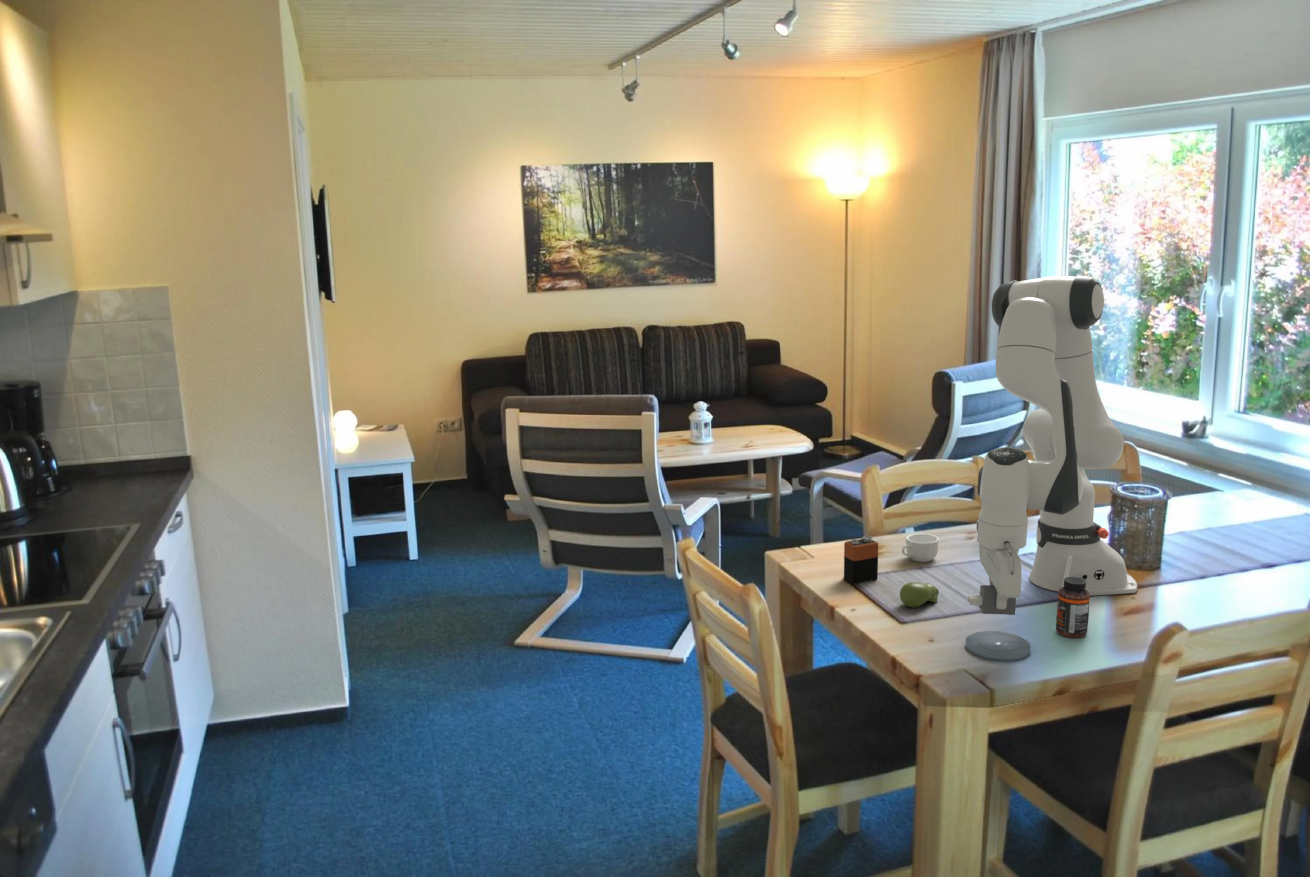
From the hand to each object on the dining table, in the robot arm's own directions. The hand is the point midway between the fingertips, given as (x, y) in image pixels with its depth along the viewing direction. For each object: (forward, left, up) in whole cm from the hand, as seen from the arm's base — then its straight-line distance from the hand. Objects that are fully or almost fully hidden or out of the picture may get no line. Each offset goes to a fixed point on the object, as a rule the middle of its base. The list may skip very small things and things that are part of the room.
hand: (997, 603), depth 200 cm
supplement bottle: (-16, -8, -10) cm, 21 cm away
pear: (+11, -23, -10) cm, 27 cm away
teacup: (+8, -51, -10) cm, 52 cm away
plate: (0, 0, -9) cm, 9 cm away
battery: (+23, -37, -10) cm, 44 cm away
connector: (+1, 0, -2) cm, 2 cm away
